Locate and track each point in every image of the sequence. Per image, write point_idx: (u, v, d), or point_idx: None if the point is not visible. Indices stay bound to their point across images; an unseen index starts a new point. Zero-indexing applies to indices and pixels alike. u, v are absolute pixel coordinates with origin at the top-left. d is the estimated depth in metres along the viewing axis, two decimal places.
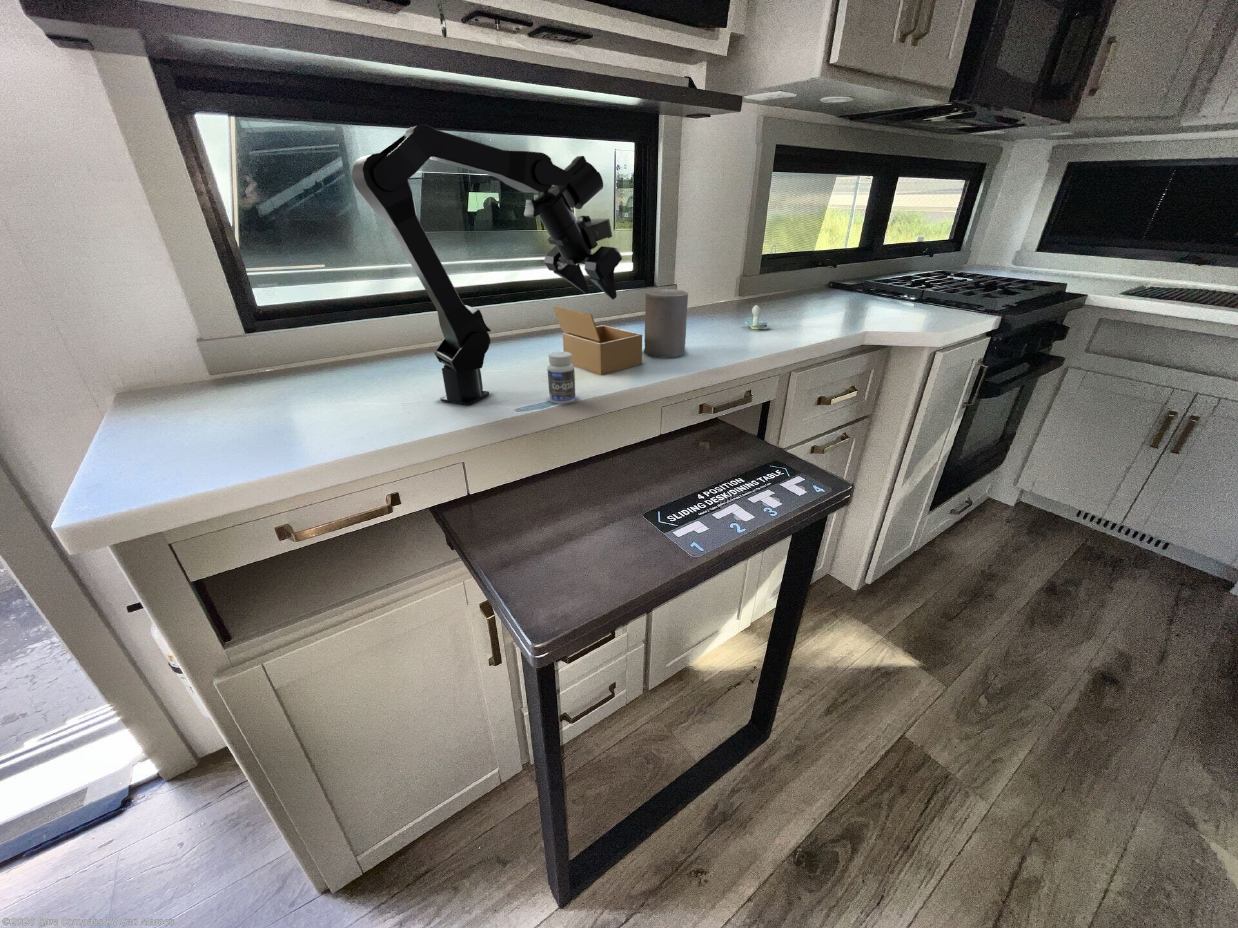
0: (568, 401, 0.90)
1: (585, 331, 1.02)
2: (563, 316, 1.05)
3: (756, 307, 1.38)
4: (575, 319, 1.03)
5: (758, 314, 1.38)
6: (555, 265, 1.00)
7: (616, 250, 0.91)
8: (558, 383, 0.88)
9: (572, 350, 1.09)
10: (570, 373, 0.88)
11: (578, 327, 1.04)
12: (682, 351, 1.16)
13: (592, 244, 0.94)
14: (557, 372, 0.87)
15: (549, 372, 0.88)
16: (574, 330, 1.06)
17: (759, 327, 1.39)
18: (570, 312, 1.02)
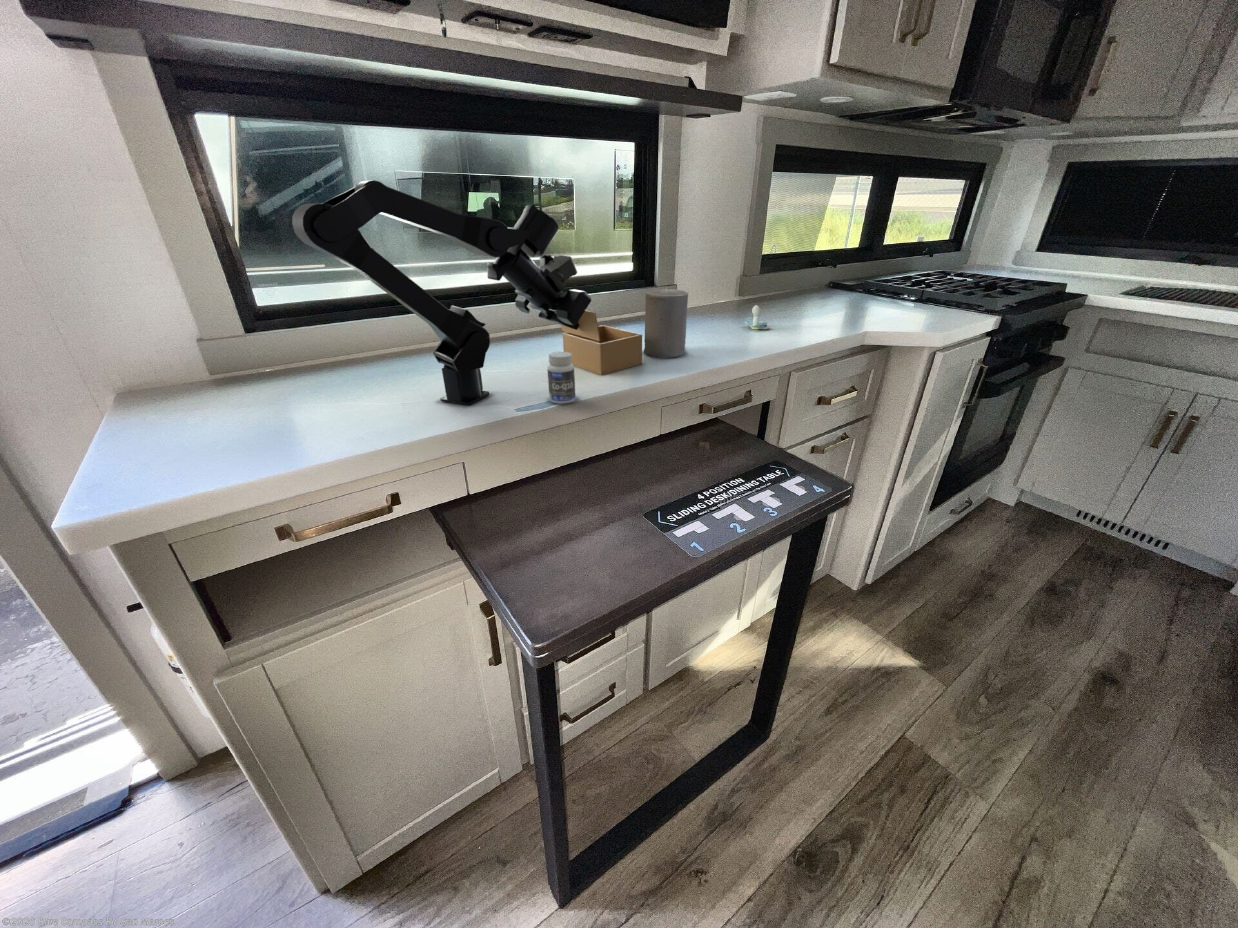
0: (568, 401, 0.90)
1: (586, 330, 1.03)
2: None
3: (756, 307, 1.38)
4: None
5: (758, 314, 1.38)
6: (527, 309, 1.01)
7: (584, 294, 0.91)
8: (558, 383, 0.88)
9: (572, 350, 1.09)
10: (570, 373, 0.88)
11: (579, 326, 1.04)
12: (682, 351, 1.16)
13: (559, 287, 0.95)
14: (557, 372, 0.87)
15: (549, 372, 0.88)
16: (574, 330, 1.06)
17: (759, 327, 1.39)
18: None
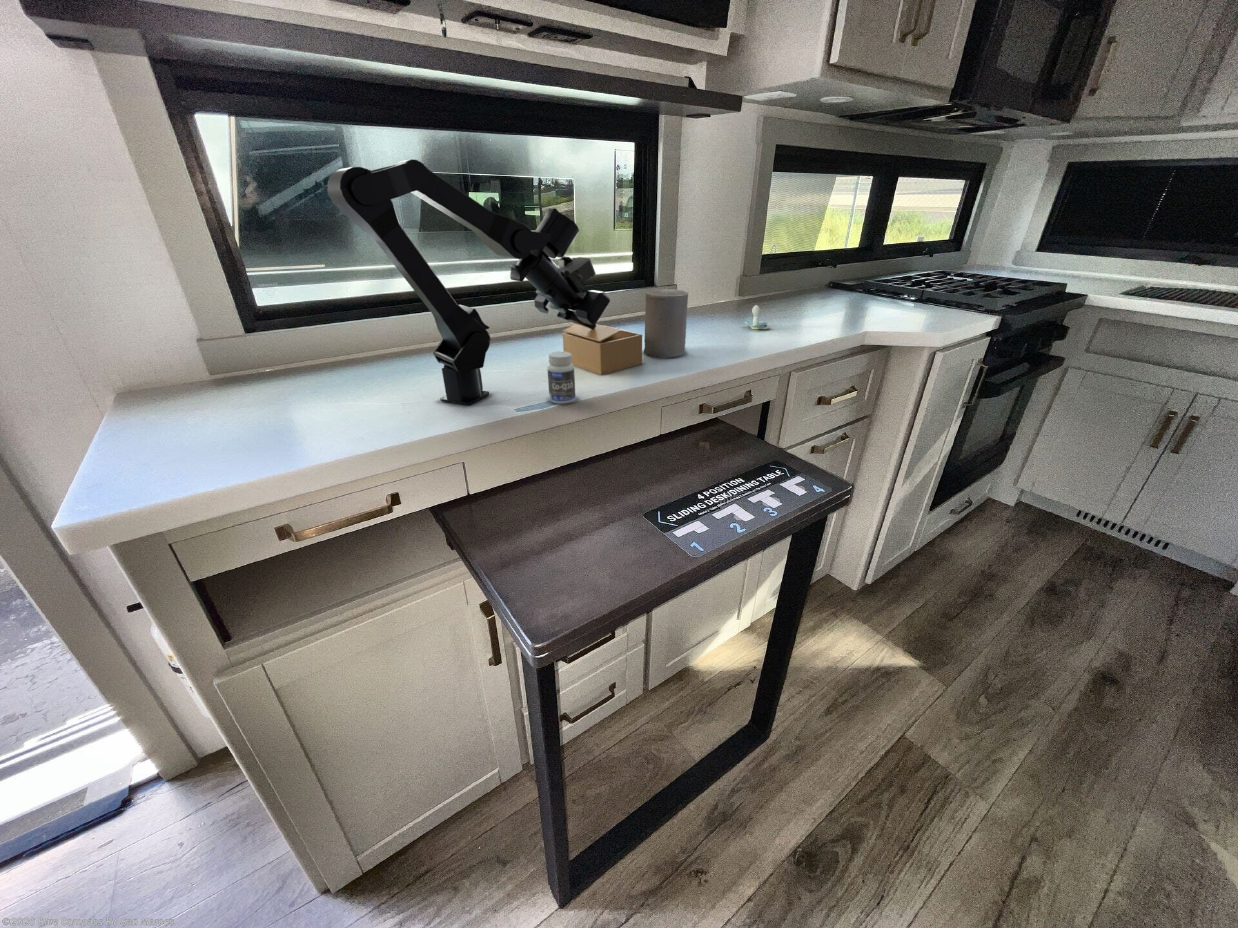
0: (568, 401, 0.90)
1: (594, 334, 1.04)
2: None
3: (756, 307, 1.38)
4: (596, 328, 1.07)
5: (758, 314, 1.38)
6: (546, 309, 1.04)
7: (603, 294, 0.94)
8: (558, 383, 0.88)
9: (572, 350, 1.09)
10: (570, 373, 0.88)
11: (590, 331, 1.06)
12: (682, 351, 1.16)
13: (578, 288, 0.98)
14: (557, 372, 0.87)
15: (549, 372, 0.88)
16: (580, 332, 1.07)
17: (759, 327, 1.39)
18: (598, 325, 1.08)
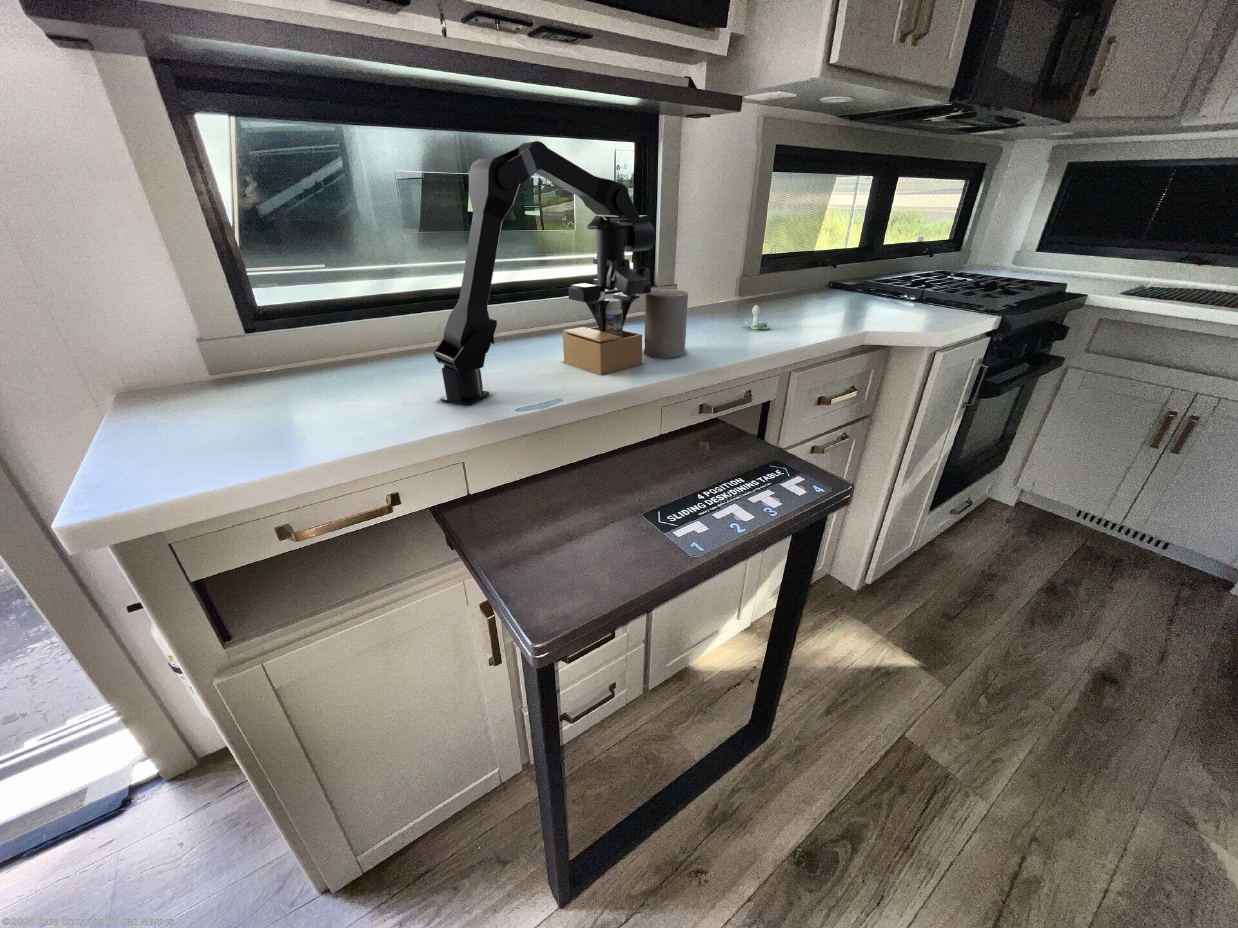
0: (617, 339, 1.10)
1: (595, 336, 1.05)
2: (584, 330, 1.10)
3: (756, 307, 1.38)
4: (596, 333, 1.07)
5: (758, 314, 1.38)
6: None
7: (584, 291, 0.99)
8: (610, 324, 1.08)
9: (572, 350, 1.09)
10: (620, 316, 1.08)
11: (590, 334, 1.06)
12: (682, 351, 1.16)
13: (607, 283, 1.03)
14: (609, 314, 1.07)
15: None
16: (580, 333, 1.07)
17: (759, 327, 1.39)
18: (599, 331, 1.09)
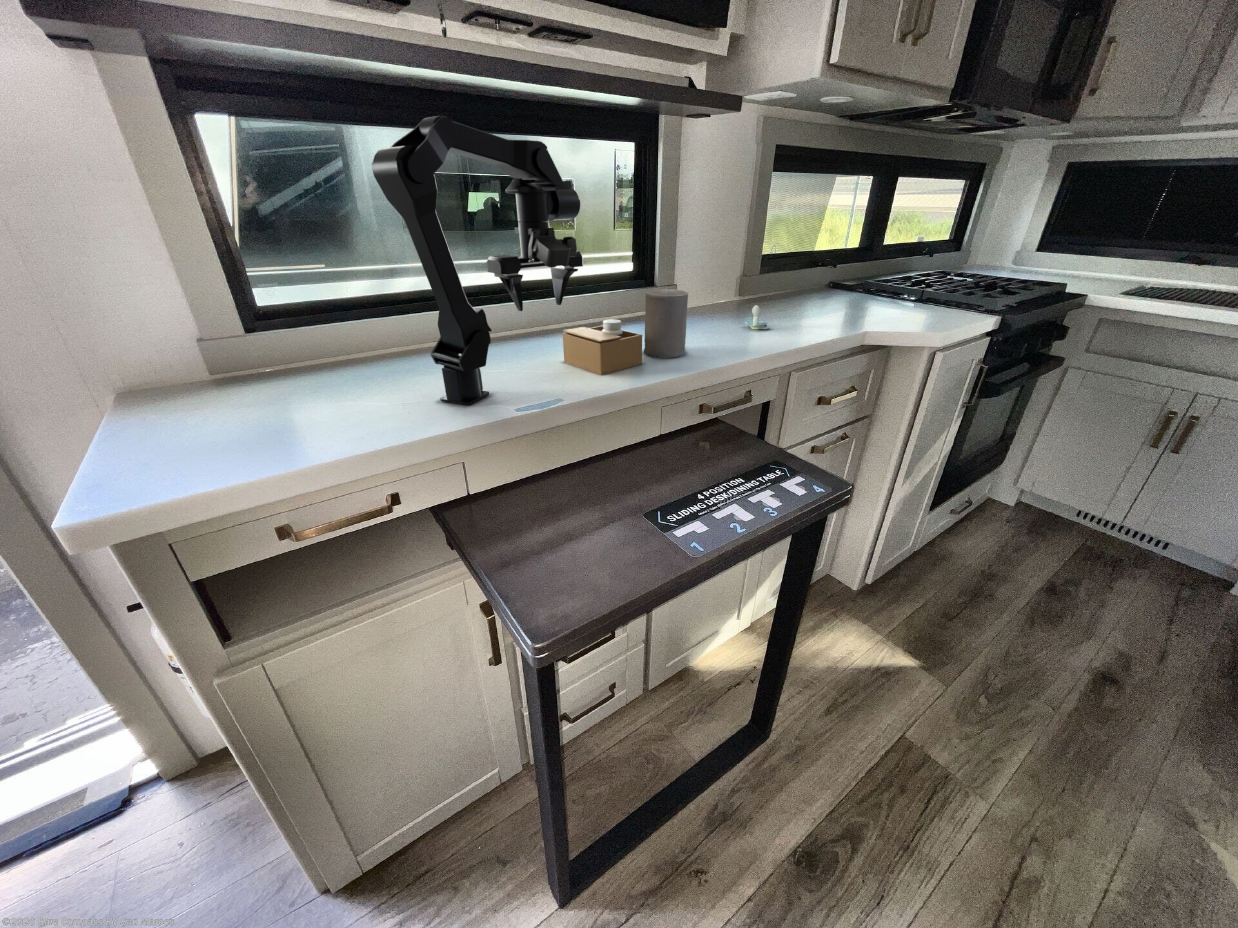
0: None
1: (595, 336, 1.05)
2: (584, 330, 1.10)
3: (756, 307, 1.38)
4: (596, 333, 1.07)
5: (758, 314, 1.38)
6: None
7: (500, 262, 0.90)
8: None
9: (572, 350, 1.09)
10: None
11: (590, 334, 1.06)
12: (682, 351, 1.16)
13: (529, 254, 0.93)
14: None
15: None
16: (580, 333, 1.07)
17: (759, 327, 1.39)
18: (599, 331, 1.09)
